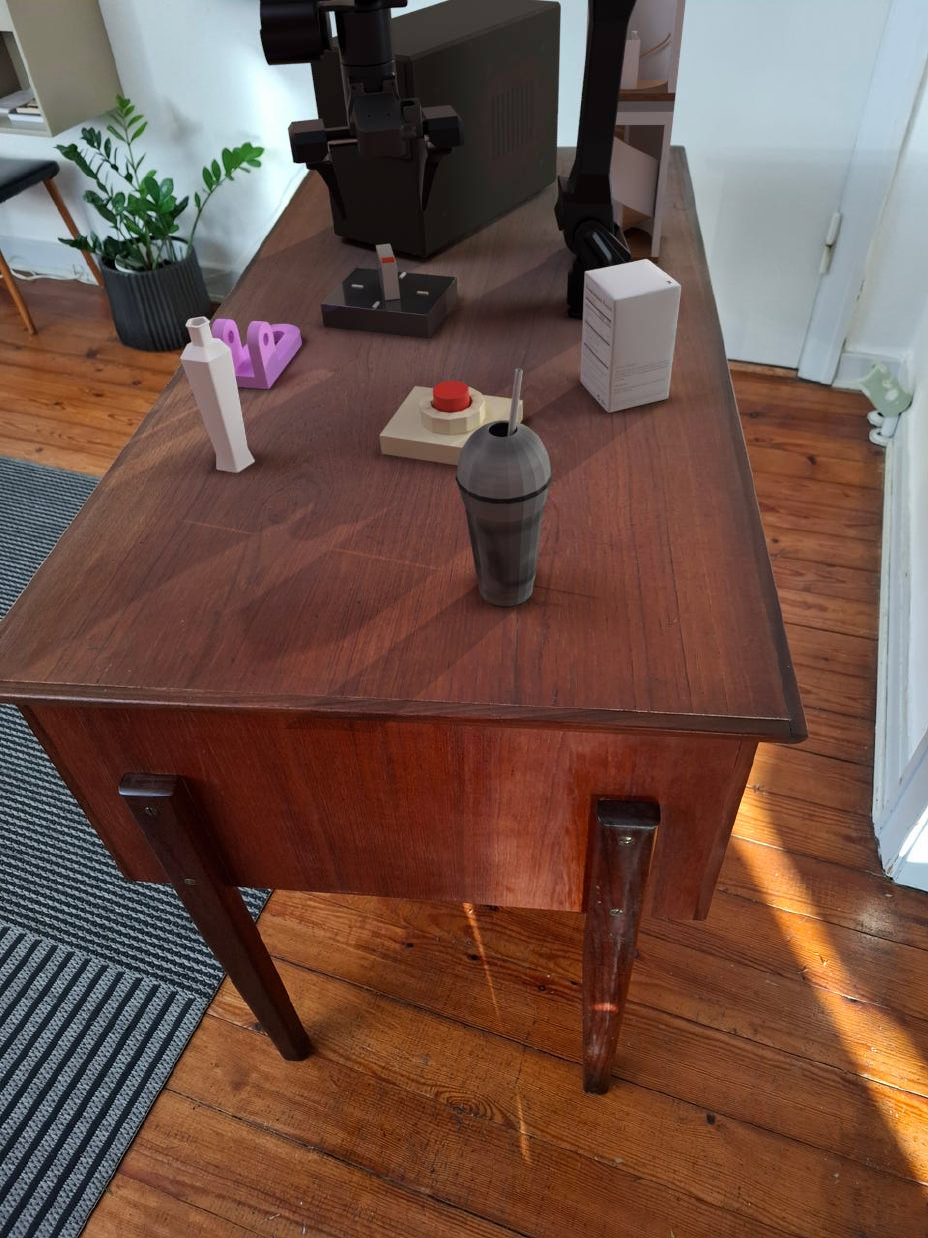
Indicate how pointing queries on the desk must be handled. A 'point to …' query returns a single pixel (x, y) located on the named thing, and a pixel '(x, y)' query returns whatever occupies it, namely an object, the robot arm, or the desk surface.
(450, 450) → the block
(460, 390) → the button
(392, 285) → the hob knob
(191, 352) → the perfume bottle
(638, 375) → the white packaging box
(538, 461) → the beverage cup
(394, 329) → the panel
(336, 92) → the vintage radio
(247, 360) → the bracket
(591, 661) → the desk surface
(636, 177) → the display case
